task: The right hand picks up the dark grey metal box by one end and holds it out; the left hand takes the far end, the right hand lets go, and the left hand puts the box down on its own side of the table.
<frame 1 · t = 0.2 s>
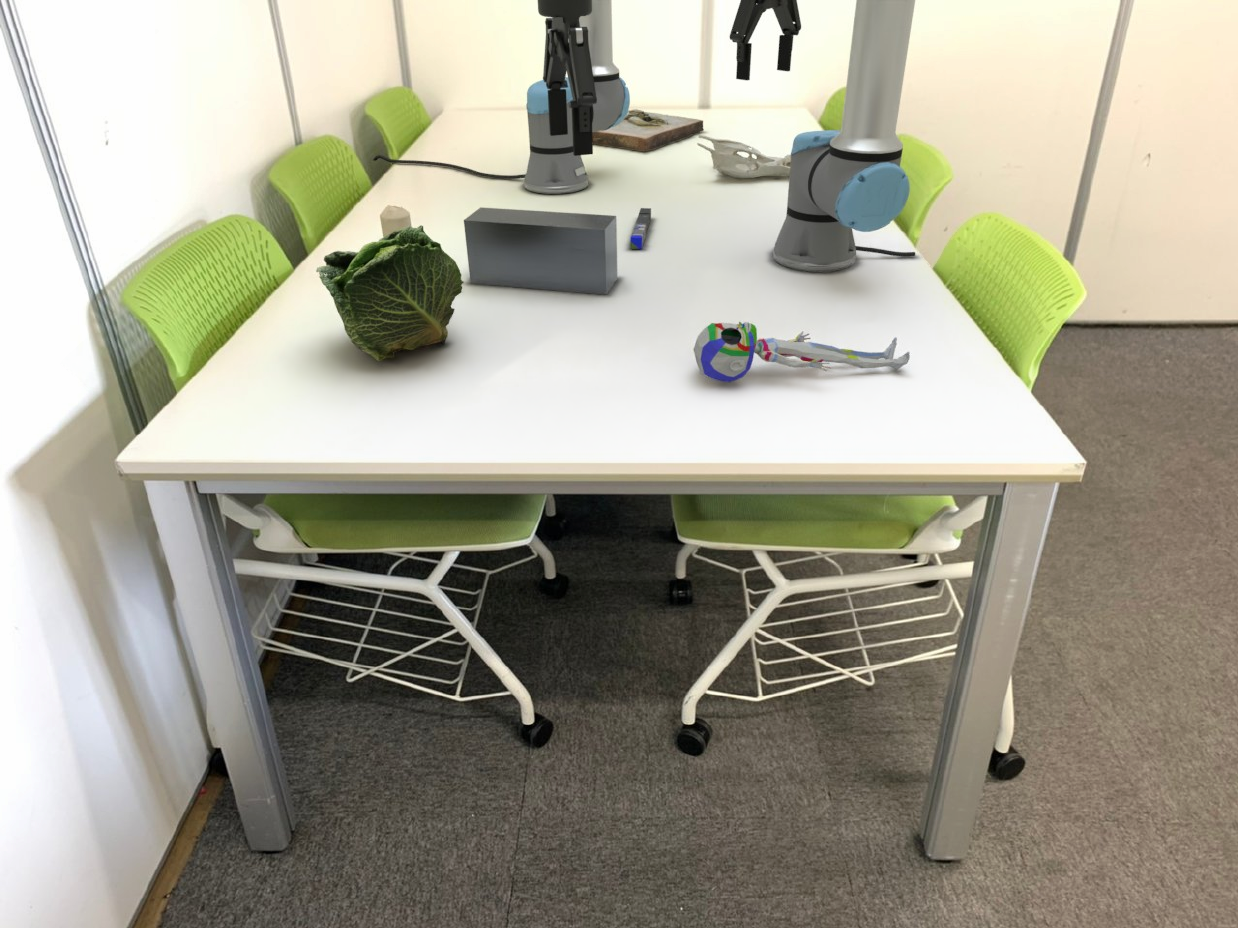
left hand: (763, 75, 179), 28 cm above the table, tool pointing down, fingers open, 13 cm apart
right hand: (570, 144, 134), 27 cm above the table, tool pointing down, fingers open, 13 cm apart
candle: (401, 259, 173), on the table
pillar: (641, 234, 184), on the table
box: (544, 281, 162), on the table
anatomical model: (747, 176, 220), on the table
vegetable: (401, 347, 139), on the table
toy: (797, 372, 129), on the table
plaque: (633, 136, 259), on the table
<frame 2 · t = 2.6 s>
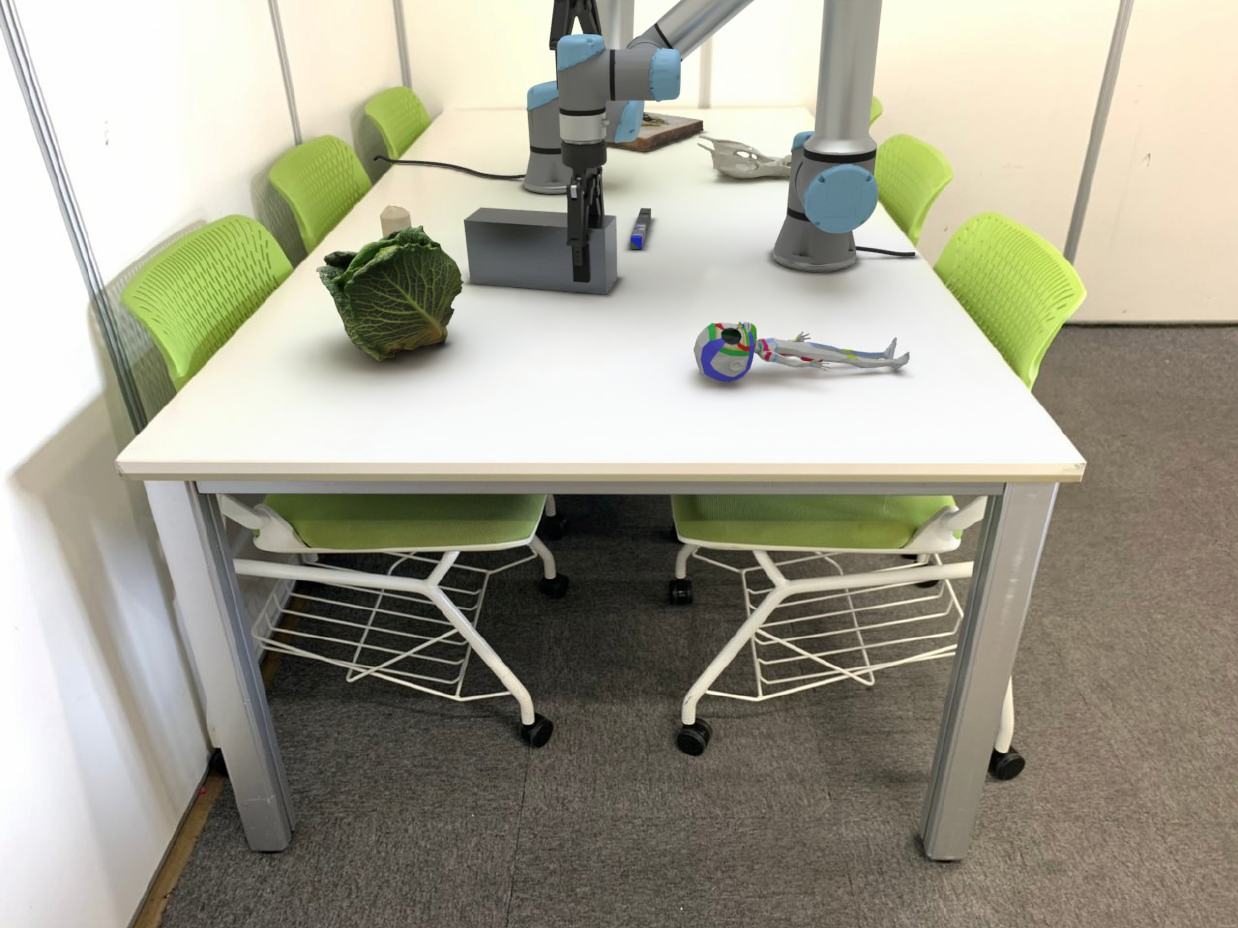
left hand: (578, 83, 168), 29 cm above the table, tool pointing down, fingers open, 13 cm apart
right hand: (588, 272, 159), 2 cm above the table, tool pointing down, fingers closed on box, 8 cm apart
box: (544, 281, 162), on the table, touching right hand
everything else where it was.
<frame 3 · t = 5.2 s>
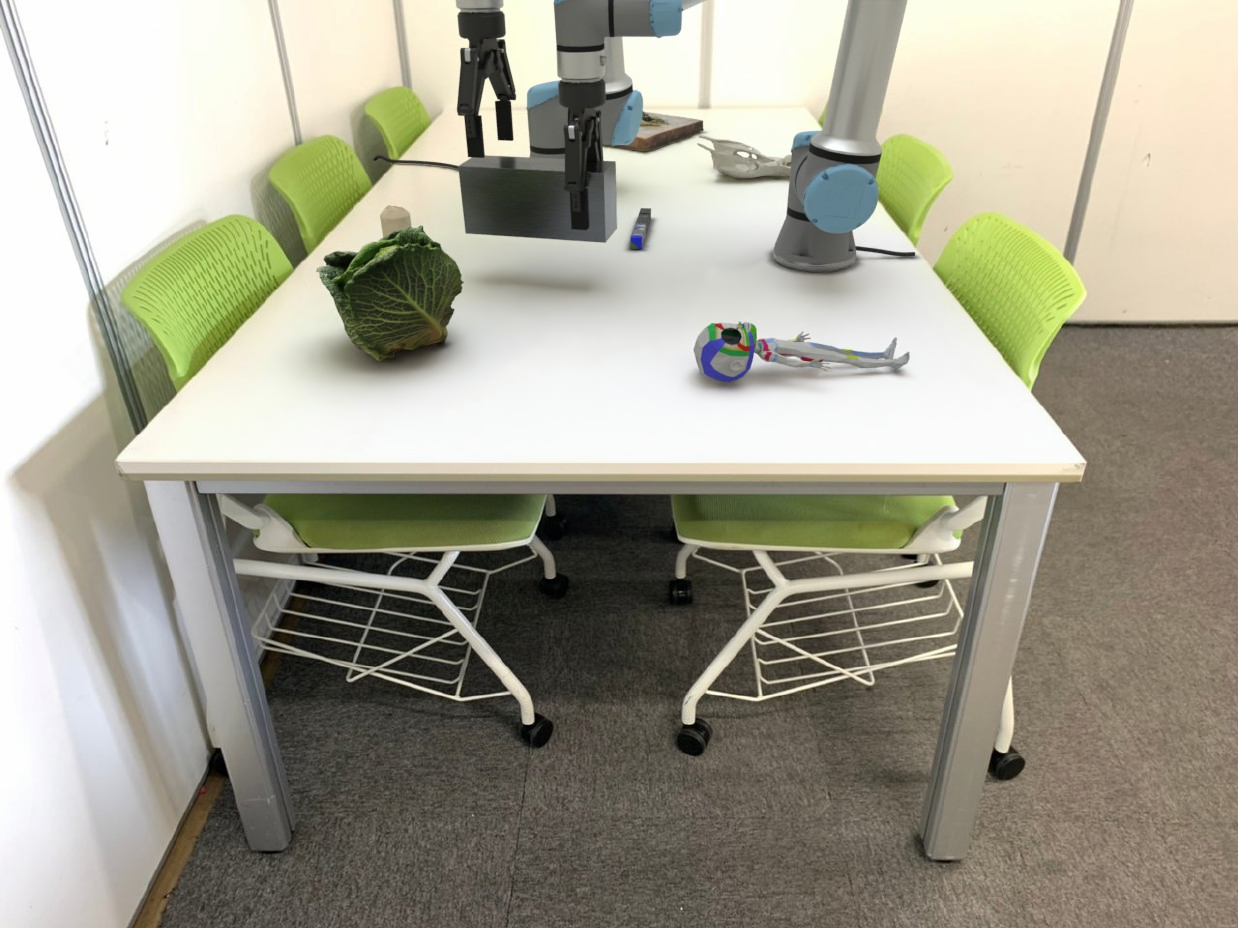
left hand: (491, 148, 154), 22 cm above the table, tool pointing down, fingers open, 13 cm apart
right hand: (586, 221, 154), 11 cm above the table, tool pointing down, fingers closed on box, 8 cm apart
box: (541, 231, 157), point 9 cm above the table, touching right hand
everything else where it was.
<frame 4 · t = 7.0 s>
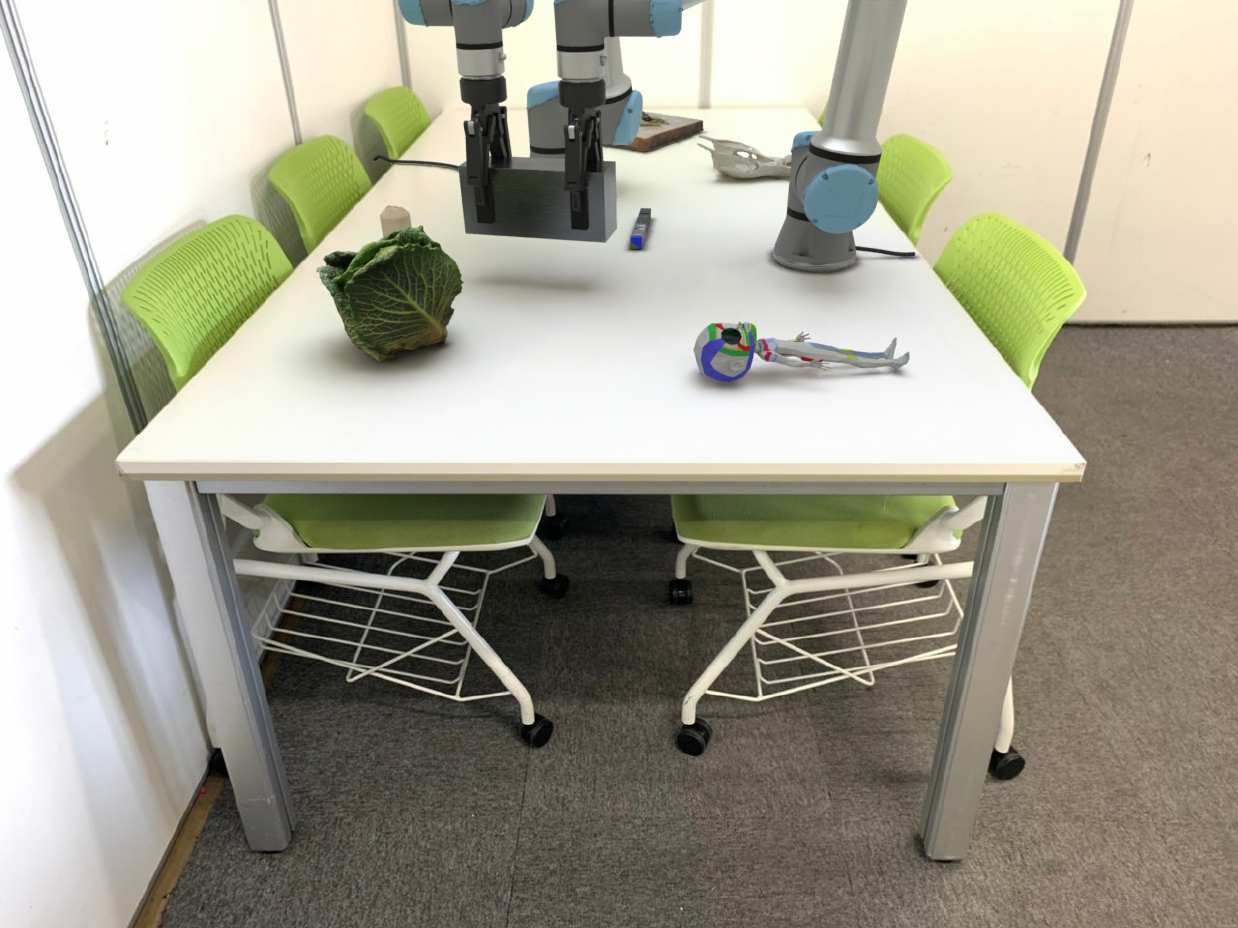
left hand: (494, 215, 157), 12 cm above the table, tool pointing down, fingers closed on box, 8 cm apart
right hand: (586, 221, 154), 11 cm above the table, tool pointing down, fingers closed on box, 8 cm apart
box: (541, 231, 157), point 9 cm above the table, touching left hand, right hand
everything else where it was.
when the right hand's fingers open (11 cm above the table, at t = 7.9 s): box stays where it is, held by the left hand.
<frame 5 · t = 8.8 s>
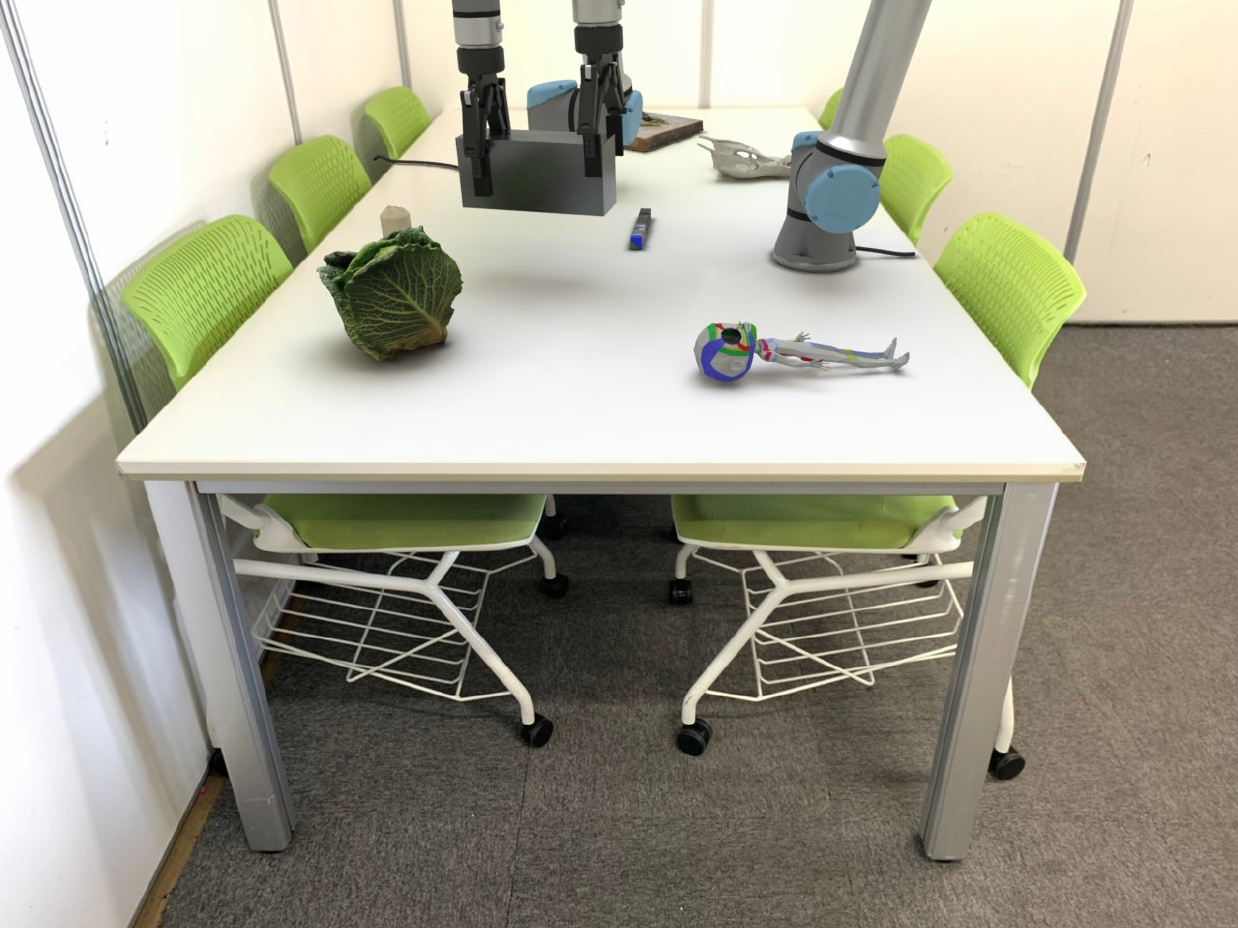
left hand: (492, 189, 155), 16 cm above the table, tool pointing down, fingers closed on box, 8 cm apart
right hand: (605, 166, 148), 21 cm above the table, tool pointing down, fingers open, 13 cm apart
box: (539, 205, 155), point 14 cm above the table, touching left hand
everything else where it was.
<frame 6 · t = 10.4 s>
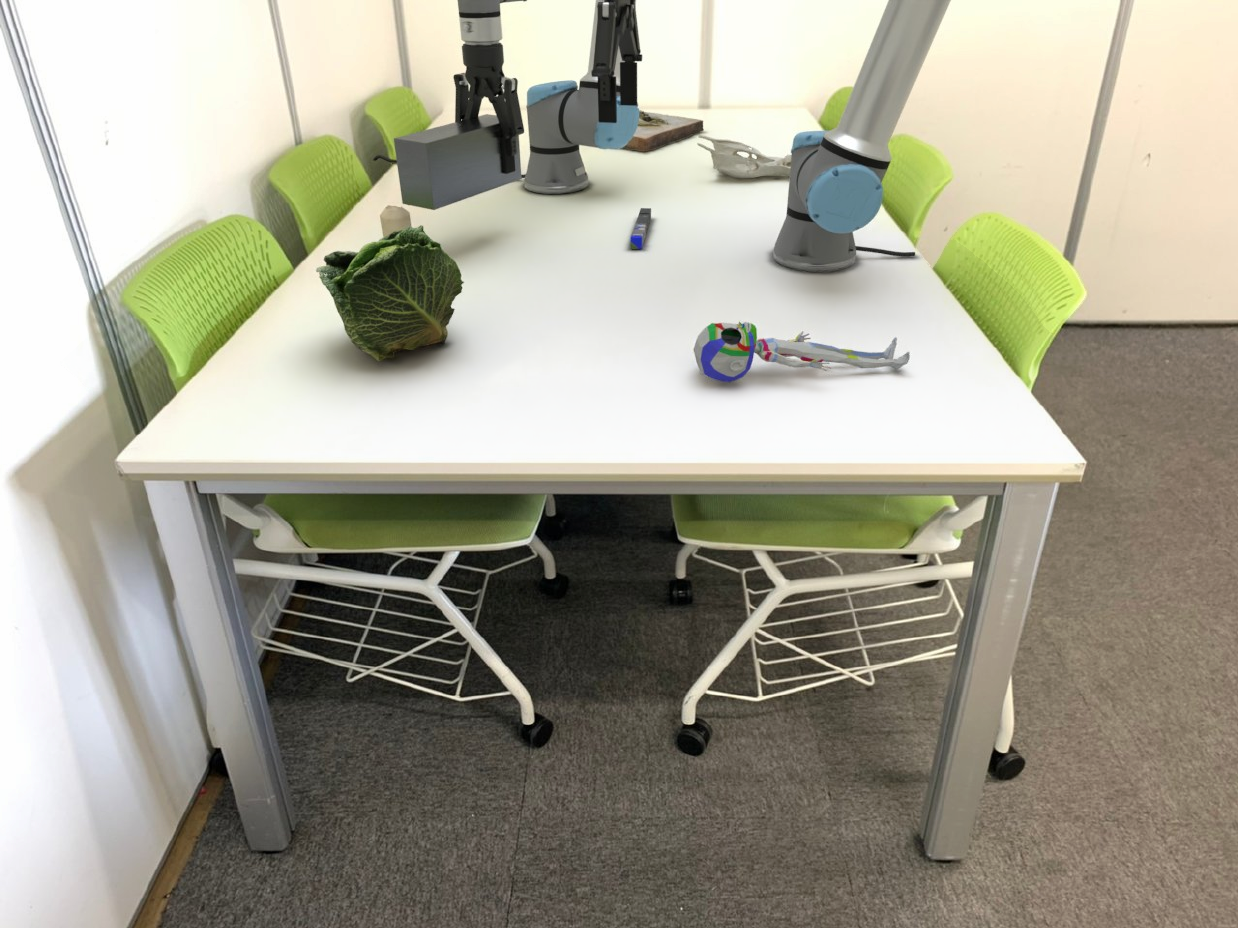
left hand: (492, 169, 176), 14 cm above the table, tool pointing down, fingers closed on box, 8 cm apart
right hand: (618, 113, 143), 29 cm above the table, tool pointing down, fingers open, 13 cm apart
box: (464, 191, 171), point 11 cm above the table, touching left hand
everything else where it was.
when the left hand's fingers open (4 cm above the table, at t = 11.8 s): box drops 1 cm, on the table.
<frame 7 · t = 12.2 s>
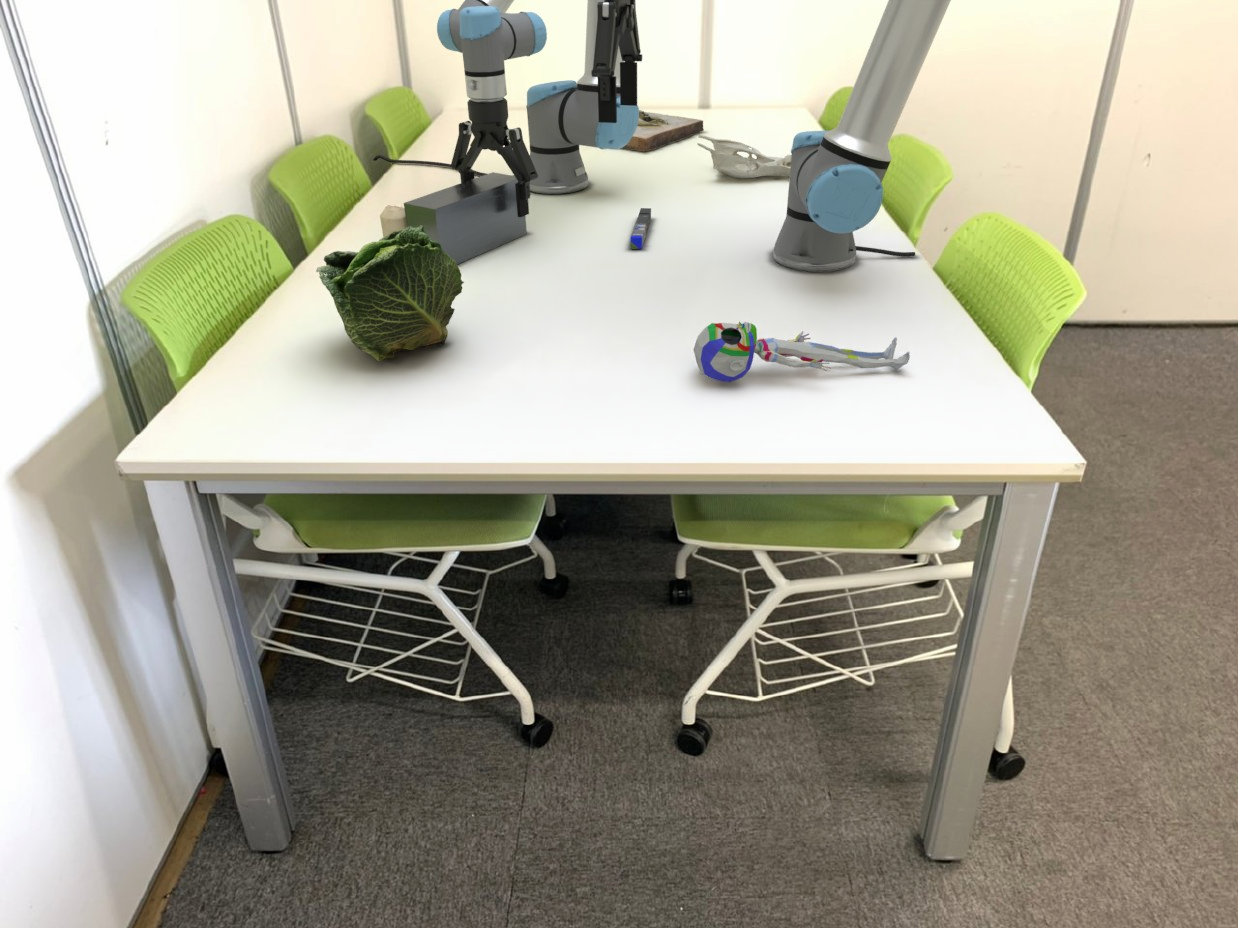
left hand: (497, 210, 181), 5 cm above the table, tool pointing down, fingers open, 13 cm apart
right hand: (618, 113, 143), 29 cm above the table, tool pointing down, fingers open, 13 cm apart
box: (471, 248, 178), on the table
everything else where it was.
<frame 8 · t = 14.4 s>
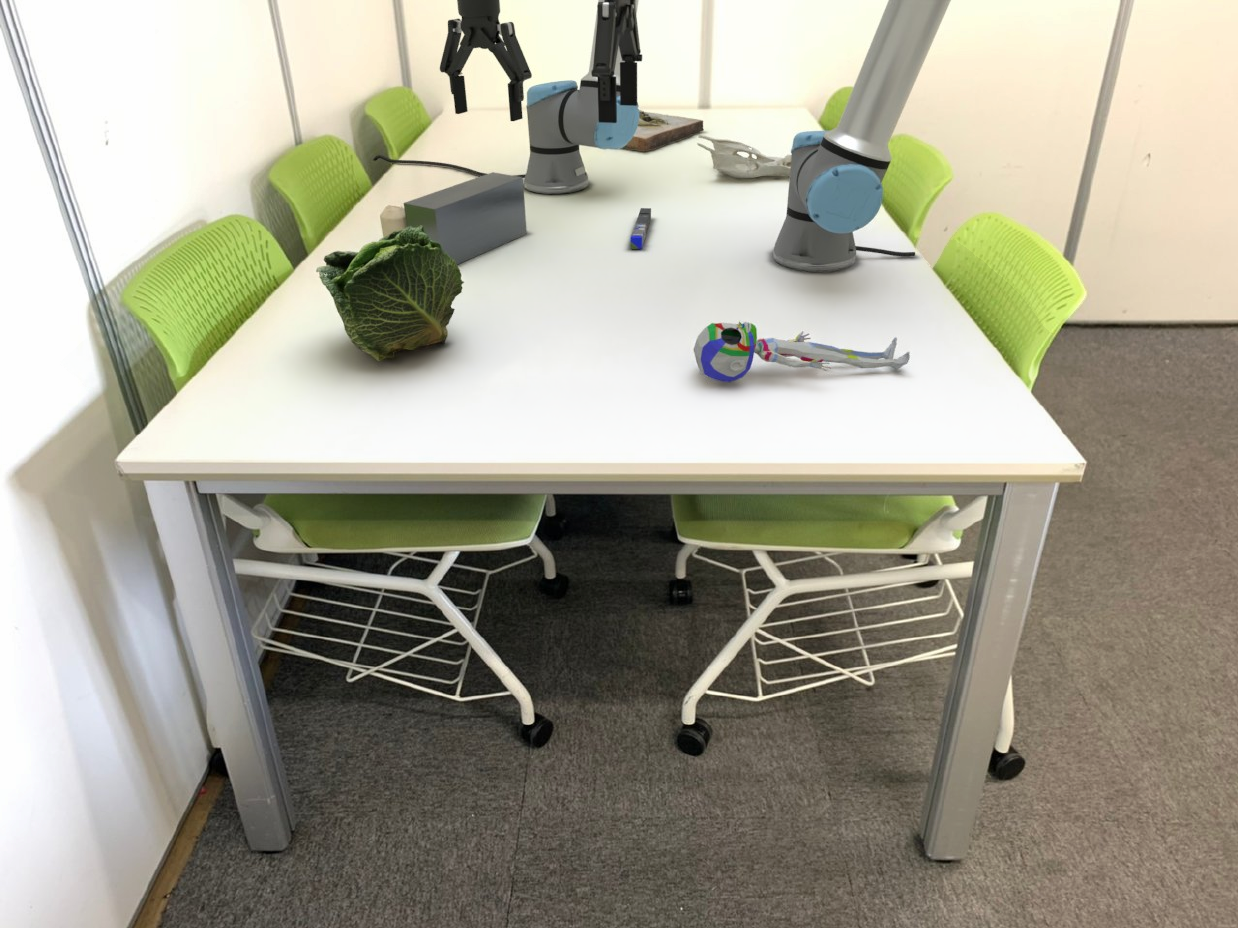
left hand: (488, 116, 171), 23 cm above the table, tool pointing down, fingers open, 13 cm apart
right hand: (618, 113, 143), 29 cm above the table, tool pointing down, fingers open, 13 cm apart
nothing on the table moved.
at the end: box inside the target area (8.4 cm from its centre), on the table; the left hand is holding nothing; the right hand is holding nothing; box at rest at the end (0.0 cm/s) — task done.
